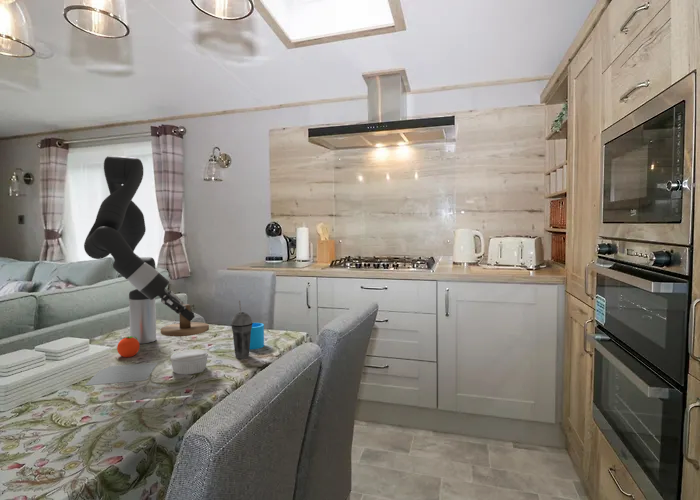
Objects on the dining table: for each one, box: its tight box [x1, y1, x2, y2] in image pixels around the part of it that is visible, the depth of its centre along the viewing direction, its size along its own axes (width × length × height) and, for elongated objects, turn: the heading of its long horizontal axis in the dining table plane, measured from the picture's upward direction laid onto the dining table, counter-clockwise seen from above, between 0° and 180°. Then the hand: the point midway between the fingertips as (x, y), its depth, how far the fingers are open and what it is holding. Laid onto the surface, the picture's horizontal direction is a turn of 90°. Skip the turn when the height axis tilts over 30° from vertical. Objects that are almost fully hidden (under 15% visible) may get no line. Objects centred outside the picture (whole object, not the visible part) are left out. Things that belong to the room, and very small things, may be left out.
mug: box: [250, 322, 265, 350], centre depth 156 cm, size 12×8×8 cm
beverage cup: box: [230, 299, 254, 360], centre depth 142 cm, size 7×7×20 cm
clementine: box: [116, 336, 141, 358], centre depth 142 cm, size 8×7×7 cm
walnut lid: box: [160, 303, 210, 338], centre depth 127 cm, size 14×14×8 cm
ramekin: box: [170, 348, 209, 375], centre depth 128 cm, size 11×11×5 cm
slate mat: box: [84, 362, 158, 387], centre depth 125 cm, size 16×16×1 cm
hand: (192, 317), depth 128 cm, fingers closed on walnut lid, 3 cm apart
